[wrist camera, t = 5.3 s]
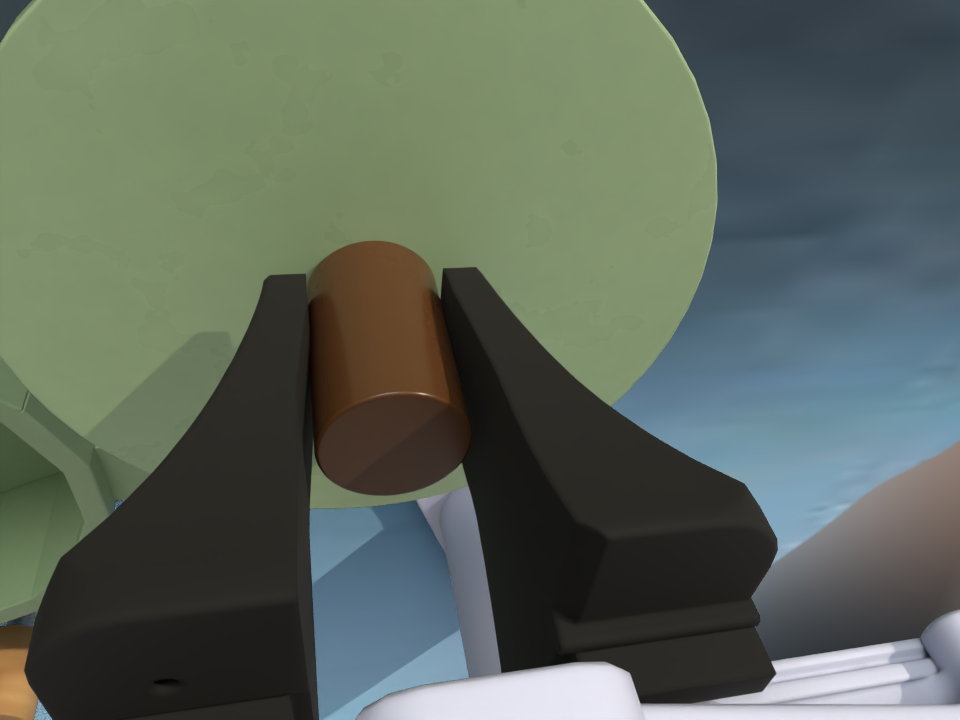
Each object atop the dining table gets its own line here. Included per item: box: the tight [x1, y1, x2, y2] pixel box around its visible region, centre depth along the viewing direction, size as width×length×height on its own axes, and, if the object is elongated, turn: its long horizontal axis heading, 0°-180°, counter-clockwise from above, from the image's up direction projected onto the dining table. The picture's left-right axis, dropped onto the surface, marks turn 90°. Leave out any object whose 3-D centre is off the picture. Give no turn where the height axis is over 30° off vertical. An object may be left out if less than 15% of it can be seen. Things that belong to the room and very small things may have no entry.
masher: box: [0, 611, 38, 720], centre depth 30 cm, size 5×4×6 cm
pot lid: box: [0, 0, 717, 509], centre depth 13 cm, size 13×13×5 cm
